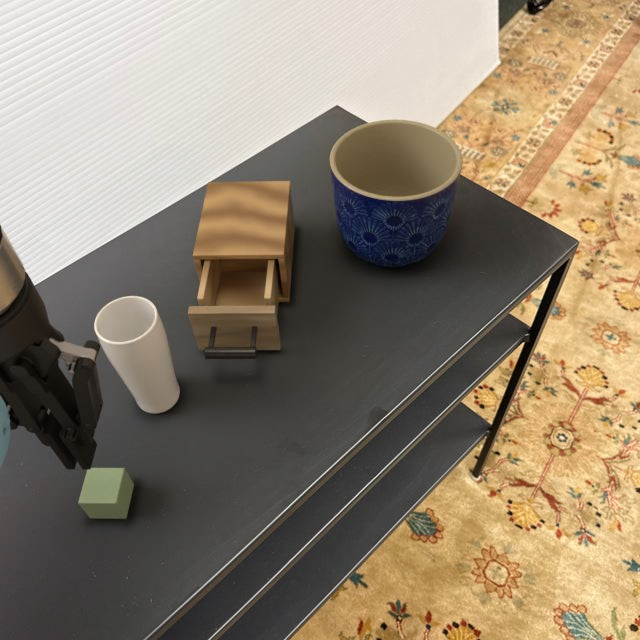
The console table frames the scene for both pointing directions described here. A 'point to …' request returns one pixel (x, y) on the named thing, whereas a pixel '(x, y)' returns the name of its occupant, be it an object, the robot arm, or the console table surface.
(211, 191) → the cabinet
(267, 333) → the drawer
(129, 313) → the drinking glass
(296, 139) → the console table surface
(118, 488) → the block
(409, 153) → the planter
